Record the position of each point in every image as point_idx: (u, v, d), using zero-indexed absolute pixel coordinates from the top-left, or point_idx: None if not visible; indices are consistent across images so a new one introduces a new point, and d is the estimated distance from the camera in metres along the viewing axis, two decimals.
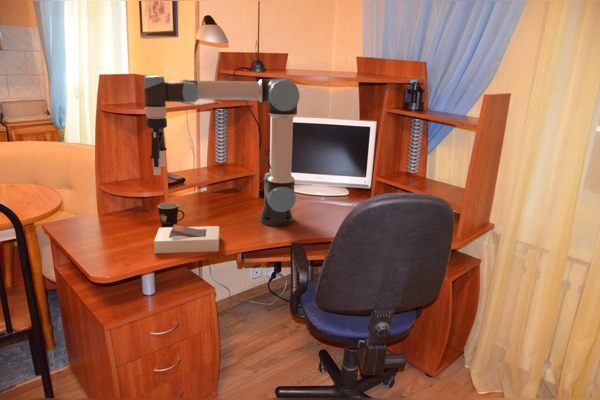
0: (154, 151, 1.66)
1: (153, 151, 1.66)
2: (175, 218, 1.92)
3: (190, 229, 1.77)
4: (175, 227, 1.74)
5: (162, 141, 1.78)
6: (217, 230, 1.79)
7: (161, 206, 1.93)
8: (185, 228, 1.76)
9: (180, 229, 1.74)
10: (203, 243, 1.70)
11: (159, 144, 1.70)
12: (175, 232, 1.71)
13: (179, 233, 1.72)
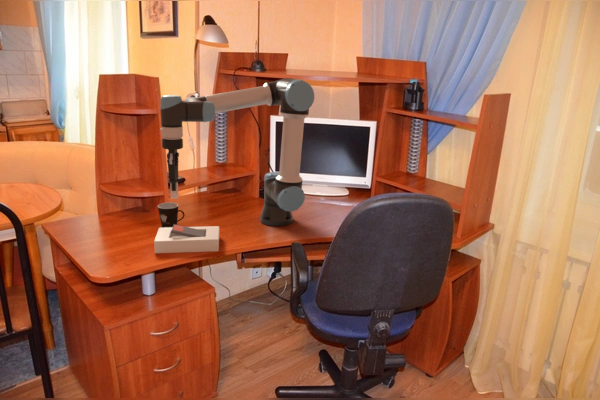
0: (171, 177, 1.65)
1: (170, 177, 1.65)
2: (175, 218, 1.92)
3: (190, 229, 1.77)
4: (175, 227, 1.74)
5: (176, 165, 1.69)
6: (217, 230, 1.79)
7: (161, 206, 1.93)
8: (185, 228, 1.76)
9: (180, 229, 1.74)
10: (203, 243, 1.70)
11: (176, 168, 1.67)
12: (175, 232, 1.71)
13: (179, 233, 1.72)
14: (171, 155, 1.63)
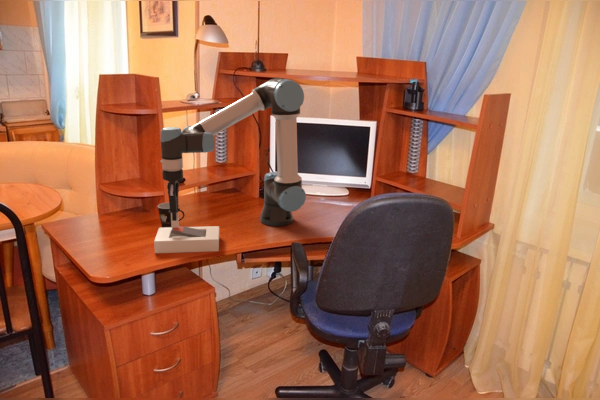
0: (172, 207, 1.67)
1: (171, 207, 1.67)
2: None
3: (190, 229, 1.77)
4: None
5: (177, 195, 1.71)
6: (217, 230, 1.79)
7: (161, 206, 1.93)
8: (185, 228, 1.76)
9: (180, 229, 1.74)
10: (203, 243, 1.70)
11: (176, 198, 1.69)
12: (175, 232, 1.71)
13: (179, 233, 1.72)
14: (172, 186, 1.65)
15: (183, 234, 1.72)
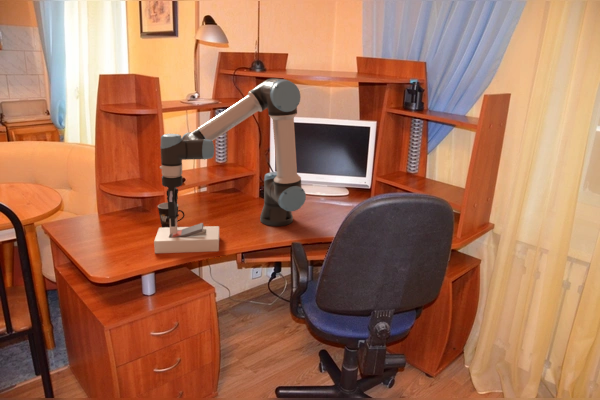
0: (171, 214, 1.68)
1: (170, 214, 1.68)
2: None
3: (188, 229, 1.76)
4: (174, 234, 1.75)
5: (176, 201, 1.72)
6: (217, 230, 1.79)
7: (161, 206, 1.93)
8: (183, 230, 1.76)
9: (178, 233, 1.74)
10: (203, 243, 1.70)
11: (175, 204, 1.69)
12: None
13: (178, 237, 1.72)
14: (171, 193, 1.65)
15: (182, 236, 1.72)
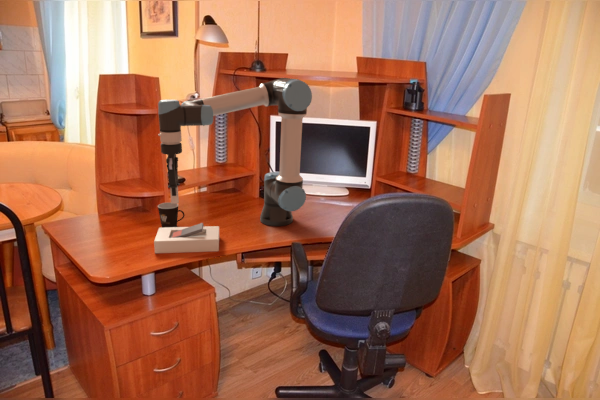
0: (172, 182, 1.64)
1: (171, 182, 1.64)
2: (175, 218, 1.92)
3: (188, 229, 1.76)
4: (174, 234, 1.75)
5: (176, 170, 1.68)
6: (217, 230, 1.79)
7: (161, 206, 1.93)
8: (183, 230, 1.76)
9: (178, 233, 1.74)
10: (203, 243, 1.70)
11: (175, 172, 1.66)
12: None
13: None
14: (170, 160, 1.62)
15: (182, 236, 1.72)
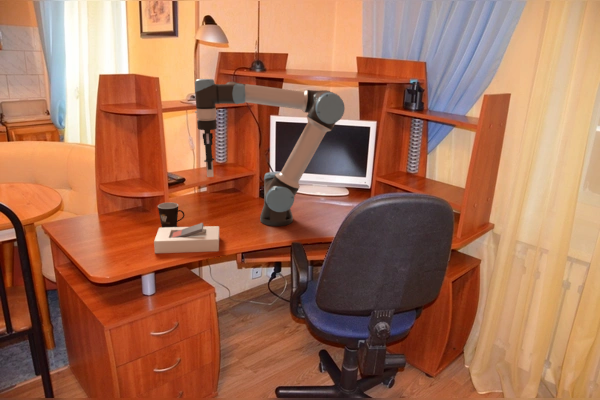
0: (208, 156, 1.76)
1: (207, 156, 1.76)
2: (175, 218, 1.92)
3: (188, 229, 1.76)
4: (174, 234, 1.75)
5: None
6: (217, 230, 1.79)
7: (161, 206, 1.93)
8: (183, 230, 1.76)
9: (178, 233, 1.74)
10: (203, 243, 1.70)
11: None
12: None
13: None
14: (207, 135, 1.73)
15: (182, 236, 1.72)
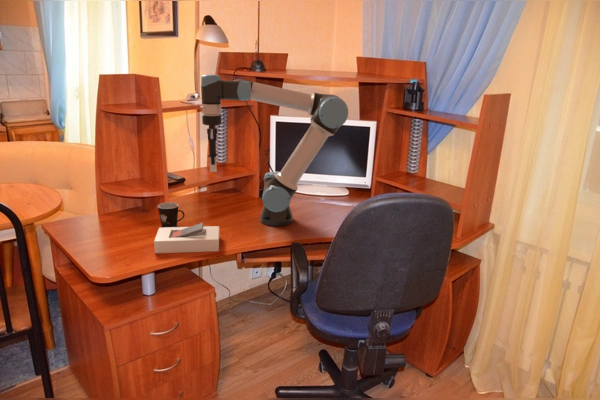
0: (212, 151, 1.78)
1: (211, 151, 1.78)
2: (175, 218, 1.92)
3: (188, 229, 1.76)
4: (174, 234, 1.75)
5: (215, 140, 1.81)
6: (217, 230, 1.79)
7: (161, 206, 1.93)
8: (183, 230, 1.76)
9: (178, 233, 1.74)
10: (203, 243, 1.70)
11: None
12: None
13: None
14: (211, 130, 1.75)
15: (182, 236, 1.72)
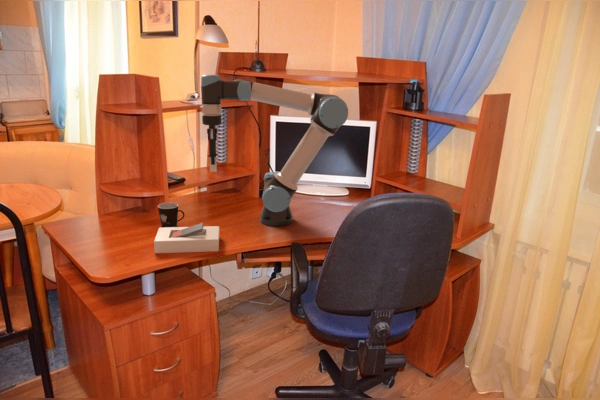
0: (212, 151, 1.78)
1: (211, 151, 1.78)
2: (175, 218, 1.92)
3: (188, 229, 1.76)
4: (174, 234, 1.75)
5: (215, 140, 1.81)
6: (217, 230, 1.79)
7: (161, 206, 1.93)
8: (183, 230, 1.76)
9: (178, 233, 1.74)
10: (203, 243, 1.70)
11: None
12: None
13: None
14: (211, 130, 1.75)
15: (182, 236, 1.72)
